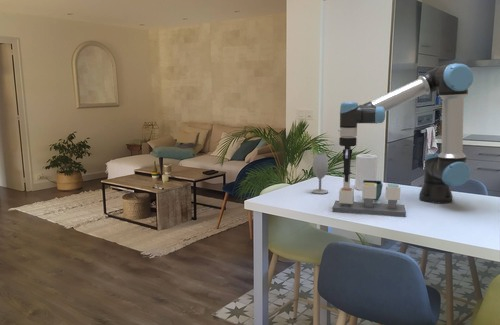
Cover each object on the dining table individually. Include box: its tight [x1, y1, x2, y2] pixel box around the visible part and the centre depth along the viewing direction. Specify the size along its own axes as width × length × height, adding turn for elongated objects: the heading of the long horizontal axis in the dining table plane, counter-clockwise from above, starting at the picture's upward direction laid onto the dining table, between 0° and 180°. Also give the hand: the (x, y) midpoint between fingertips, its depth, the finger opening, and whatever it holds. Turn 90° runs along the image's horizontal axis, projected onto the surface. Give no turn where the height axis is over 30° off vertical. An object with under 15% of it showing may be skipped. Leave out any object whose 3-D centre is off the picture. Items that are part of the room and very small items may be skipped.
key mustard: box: [361, 182, 377, 199], centre depth 192 cm, size 6×6×6 cm
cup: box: [354, 153, 378, 191], centre depth 235 cm, size 11×11×18 cm
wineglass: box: [311, 152, 329, 195], centre depth 227 cm, size 9×9×21 cm
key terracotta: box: [338, 187, 355, 204], centre depth 196 cm, size 6×6×6 cm
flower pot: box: [363, 180, 383, 202], centre depth 212 cm, size 9×9×9 cm
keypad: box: [331, 198, 407, 218], centre depth 193 cm, size 31×13×7 cm, turn 73°
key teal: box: [385, 183, 402, 201], centre depth 190 cm, size 6×6×6 cm
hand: (346, 188), depth 195 cm, fingers closed
